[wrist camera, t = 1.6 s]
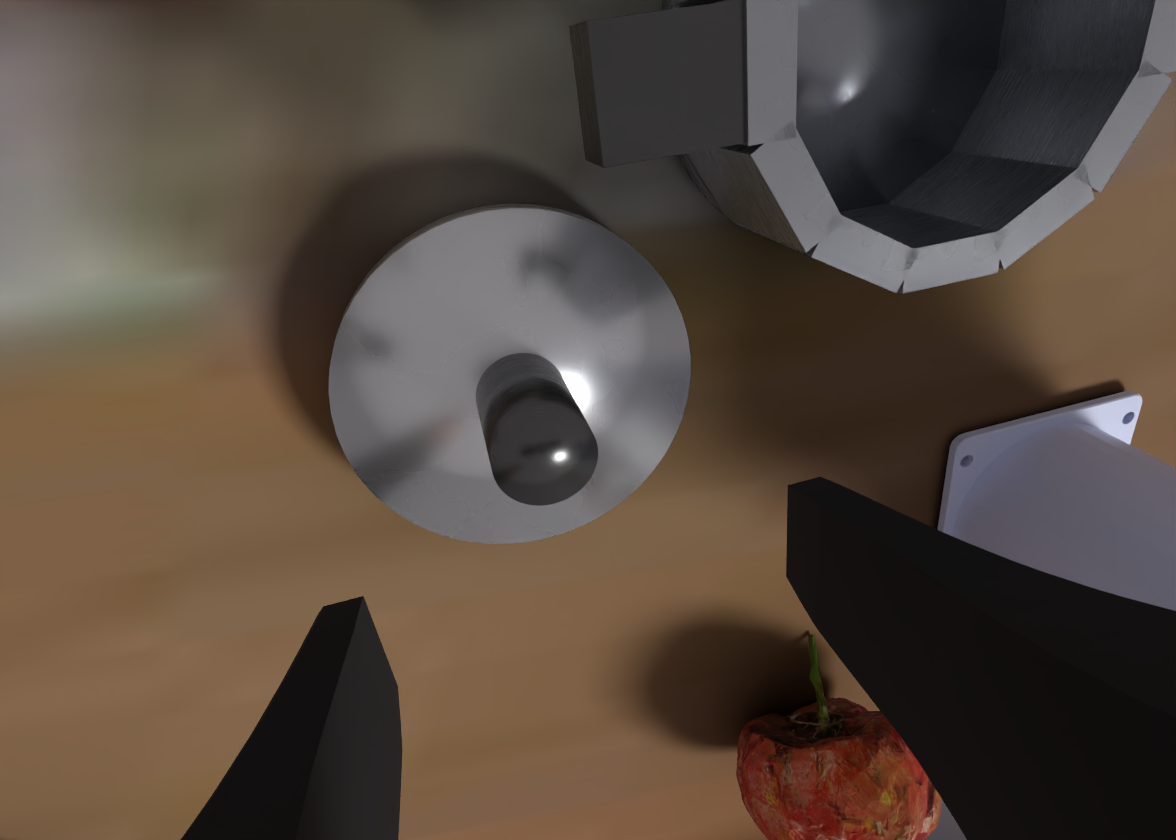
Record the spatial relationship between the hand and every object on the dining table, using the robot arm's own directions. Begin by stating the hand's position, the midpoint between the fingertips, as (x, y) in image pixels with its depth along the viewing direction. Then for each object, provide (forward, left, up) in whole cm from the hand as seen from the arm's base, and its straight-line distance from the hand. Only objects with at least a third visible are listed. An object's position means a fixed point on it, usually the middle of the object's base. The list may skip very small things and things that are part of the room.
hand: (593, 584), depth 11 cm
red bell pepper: (-18, -9, -10) cm, 22 cm away
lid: (0, 0, -10) cm, 10 cm away
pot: (+7, -12, -9) cm, 17 cm away
